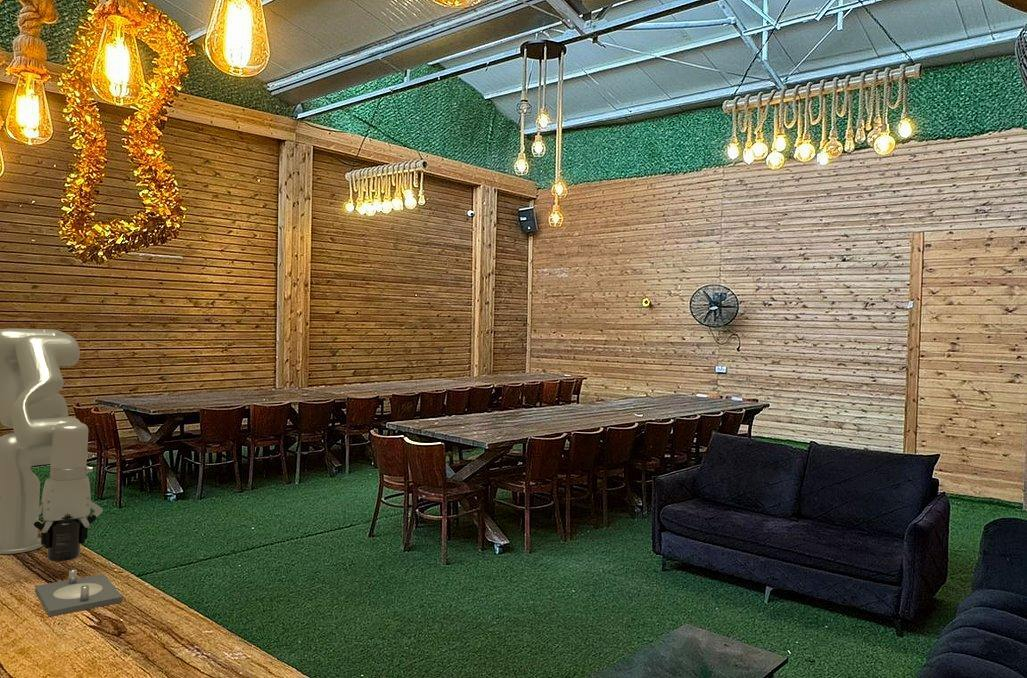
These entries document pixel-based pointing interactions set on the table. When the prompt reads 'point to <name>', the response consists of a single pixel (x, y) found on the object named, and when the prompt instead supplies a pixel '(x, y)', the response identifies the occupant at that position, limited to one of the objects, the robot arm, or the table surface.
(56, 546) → the supplement bottle
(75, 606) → the board
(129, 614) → the table surface
